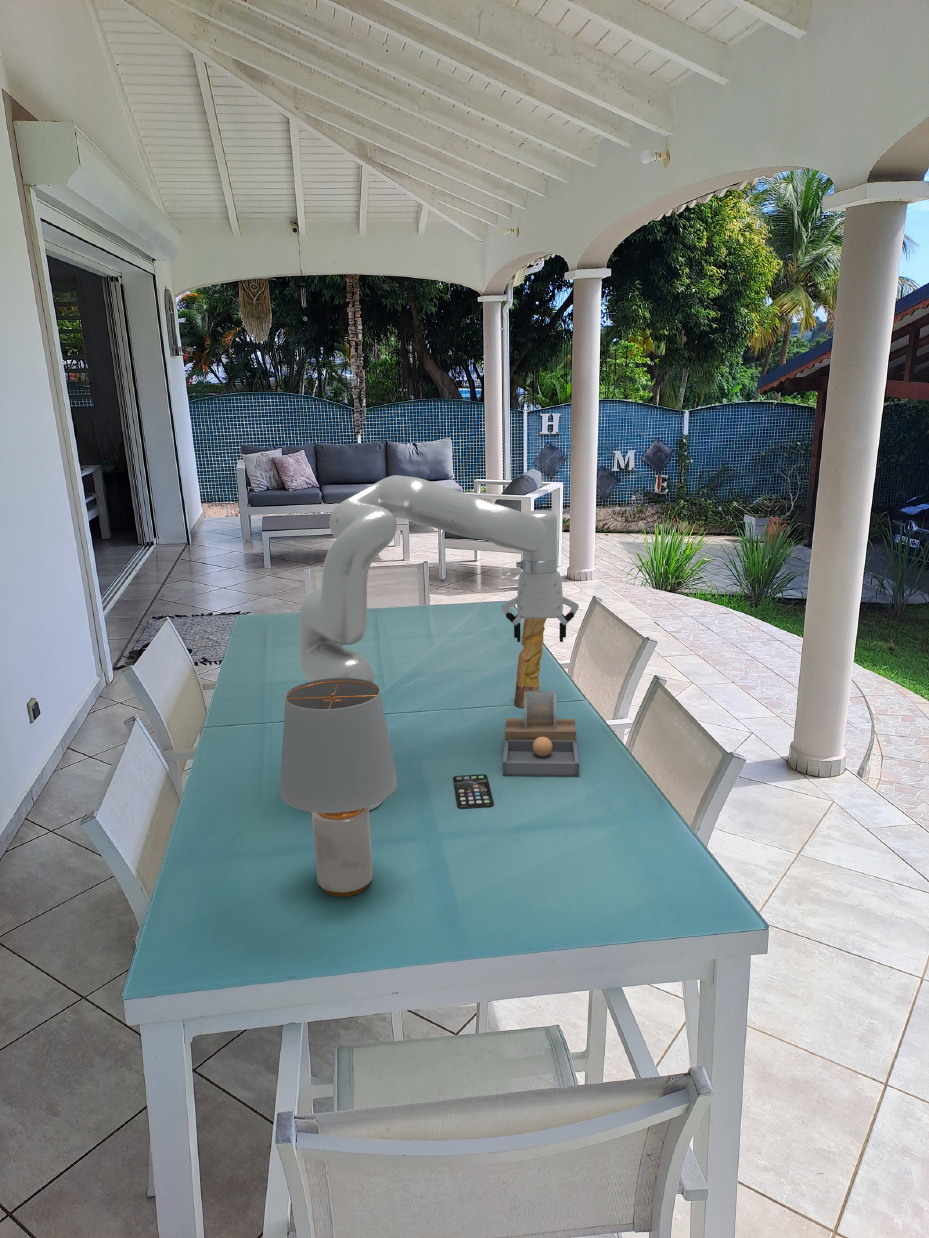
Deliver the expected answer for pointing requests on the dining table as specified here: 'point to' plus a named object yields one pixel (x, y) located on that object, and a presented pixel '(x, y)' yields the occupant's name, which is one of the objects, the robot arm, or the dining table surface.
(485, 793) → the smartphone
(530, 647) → the sculpture
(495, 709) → the dining table surface
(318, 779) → the lamp
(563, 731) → the ledge
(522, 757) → the tray
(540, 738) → the ball
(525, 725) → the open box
